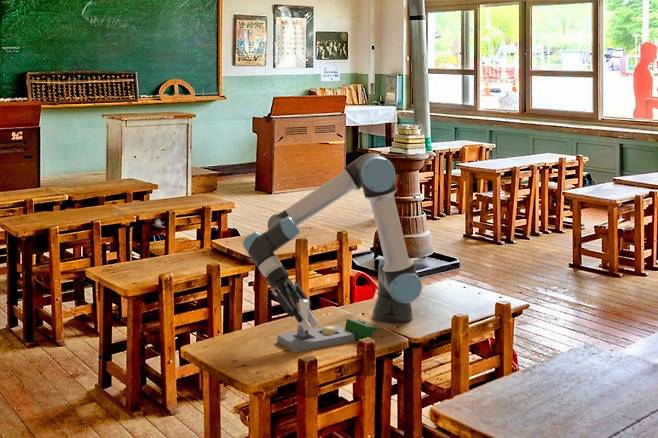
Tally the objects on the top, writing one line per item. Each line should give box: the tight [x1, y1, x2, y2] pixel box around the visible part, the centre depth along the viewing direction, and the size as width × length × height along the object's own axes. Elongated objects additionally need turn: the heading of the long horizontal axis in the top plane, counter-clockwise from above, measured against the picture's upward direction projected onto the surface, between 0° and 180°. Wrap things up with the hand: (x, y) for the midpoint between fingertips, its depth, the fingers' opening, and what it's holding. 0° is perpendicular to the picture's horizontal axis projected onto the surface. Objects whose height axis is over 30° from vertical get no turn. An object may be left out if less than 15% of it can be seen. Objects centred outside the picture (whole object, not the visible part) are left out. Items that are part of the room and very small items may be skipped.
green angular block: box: [344, 318, 379, 341], centre depth 289 cm, size 12×6×9 cm
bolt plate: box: [277, 324, 356, 353], centre depth 284 cm, size 24×12×4 cm, turn 122°
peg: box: [296, 298, 310, 336], centre depth 280 cm, size 4×4×12 cm
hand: (312, 326), depth 278 cm, fingers closed on peg, 4 cm apart
